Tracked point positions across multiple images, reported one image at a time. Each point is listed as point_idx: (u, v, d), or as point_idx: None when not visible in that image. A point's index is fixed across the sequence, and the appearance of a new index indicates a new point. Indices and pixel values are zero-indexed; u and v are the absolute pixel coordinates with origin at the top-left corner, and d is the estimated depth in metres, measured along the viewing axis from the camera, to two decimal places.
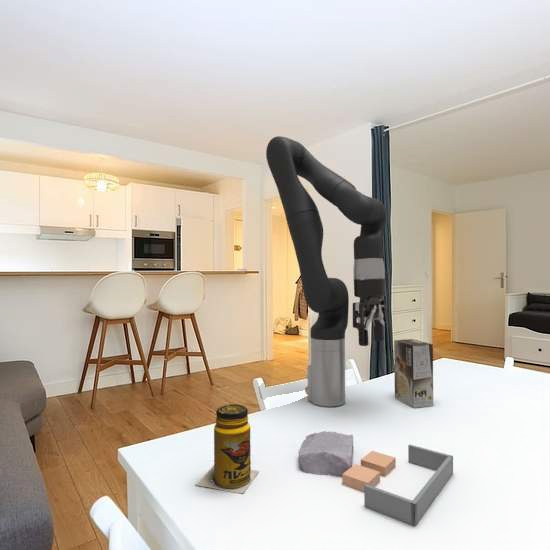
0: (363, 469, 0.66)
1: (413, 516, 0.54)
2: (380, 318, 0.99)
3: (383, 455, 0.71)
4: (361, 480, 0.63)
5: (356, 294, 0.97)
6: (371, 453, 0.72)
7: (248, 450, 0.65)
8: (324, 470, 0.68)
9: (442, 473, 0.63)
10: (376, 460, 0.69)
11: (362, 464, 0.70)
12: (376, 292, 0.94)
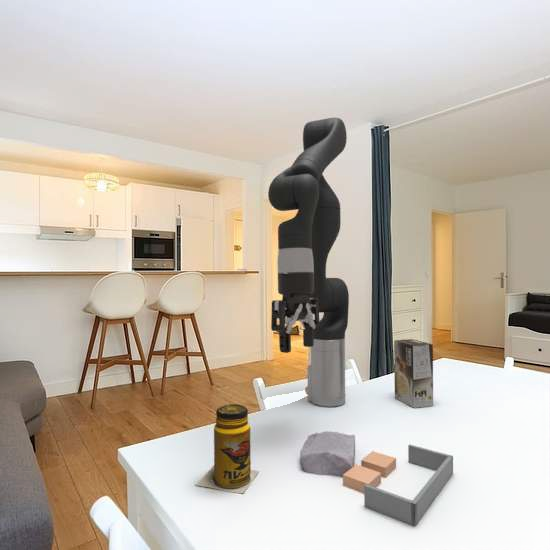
0: (364, 470, 0.66)
1: (413, 516, 0.54)
2: (309, 320, 0.84)
3: (383, 455, 0.71)
4: (362, 481, 0.62)
5: (279, 291, 0.81)
6: (371, 454, 0.72)
7: (248, 450, 0.65)
8: (326, 470, 0.68)
9: (442, 473, 0.63)
10: (376, 461, 0.69)
11: (362, 465, 0.69)
12: (300, 288, 0.79)
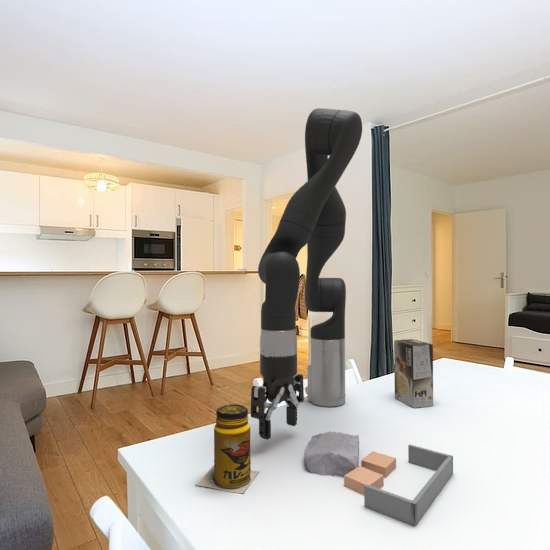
0: (366, 472, 0.65)
1: (413, 516, 0.54)
2: (292, 400, 0.82)
3: (384, 455, 0.71)
4: (362, 482, 0.62)
5: (261, 372, 0.79)
6: (371, 453, 0.72)
7: (248, 450, 0.65)
8: (330, 471, 0.68)
9: (442, 473, 0.63)
10: (376, 461, 0.69)
11: (362, 465, 0.69)
12: (282, 373, 0.76)
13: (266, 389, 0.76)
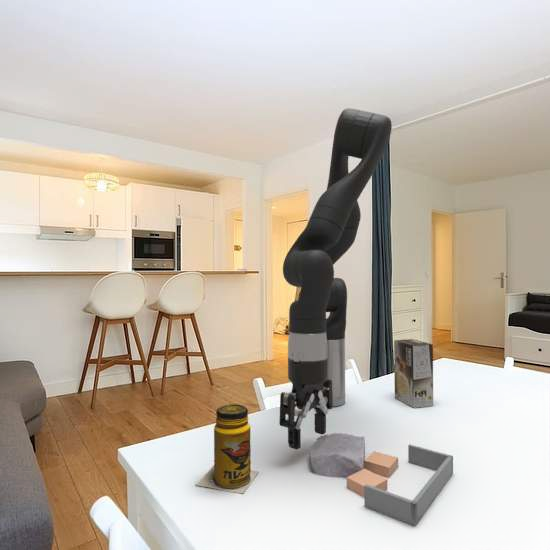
0: (370, 475, 0.64)
1: (413, 516, 0.54)
2: (321, 407, 0.77)
3: (386, 455, 0.71)
4: (364, 485, 0.61)
5: (289, 378, 0.74)
6: (373, 454, 0.72)
7: (248, 450, 0.65)
8: (336, 472, 0.67)
9: (442, 473, 0.63)
10: (379, 461, 0.69)
11: (365, 465, 0.69)
12: (312, 379, 0.72)
13: (296, 396, 0.72)
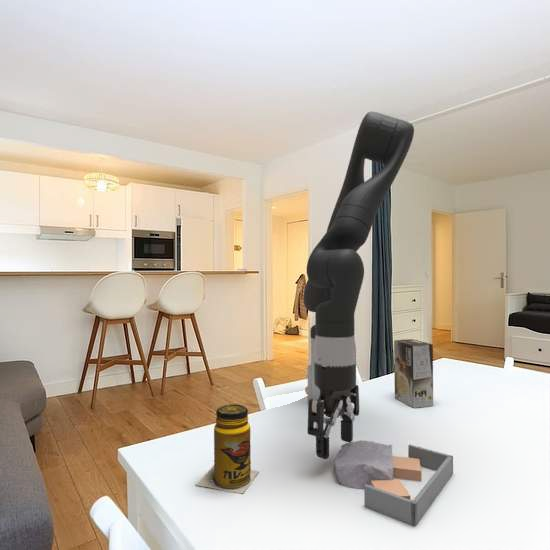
0: (397, 486, 0.60)
1: (413, 516, 0.54)
2: (349, 413, 0.73)
3: (407, 458, 0.70)
4: None
5: (316, 383, 0.71)
6: (395, 458, 0.70)
7: (248, 450, 0.65)
8: (363, 483, 0.63)
9: (442, 473, 0.63)
10: (407, 465, 0.67)
11: (394, 472, 0.67)
12: (342, 385, 0.68)
13: (324, 403, 0.68)
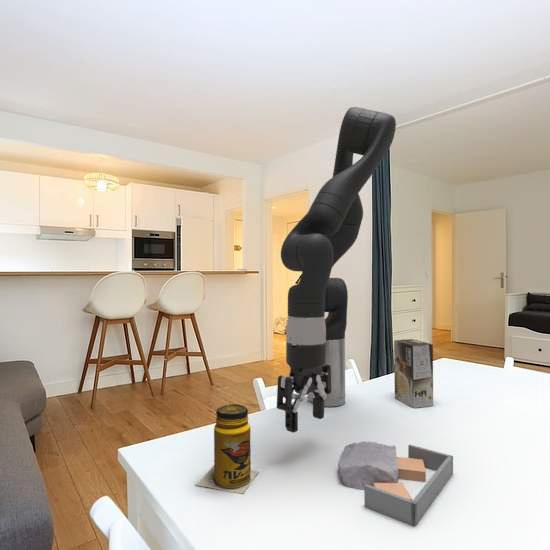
0: (399, 489, 0.60)
1: (413, 516, 0.54)
2: (319, 391, 0.77)
3: (410, 459, 0.70)
4: None
5: (287, 362, 0.74)
6: (399, 459, 0.70)
7: (248, 450, 0.65)
8: None
9: (442, 473, 0.63)
10: (411, 466, 0.67)
11: (399, 473, 0.66)
12: (310, 363, 0.72)
13: (293, 379, 0.72)
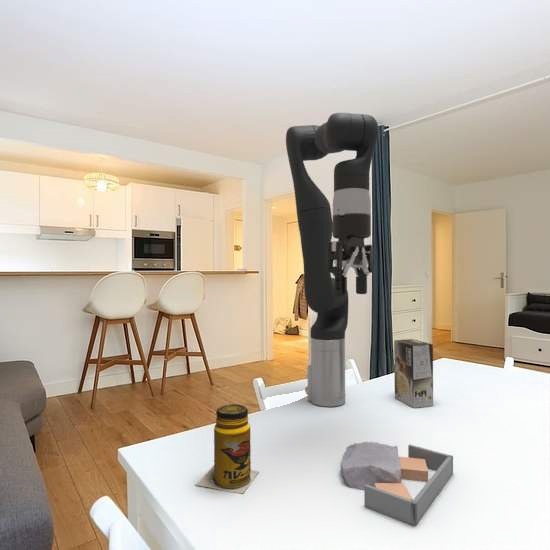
0: (400, 489, 0.60)
1: (413, 516, 0.54)
2: (364, 265, 0.81)
3: (413, 459, 0.70)
4: None
5: (334, 233, 0.79)
6: (401, 459, 0.70)
7: (248, 450, 0.65)
8: (371, 485, 0.63)
9: (442, 473, 0.63)
10: (413, 466, 0.67)
11: (401, 473, 0.66)
12: (358, 230, 0.76)
13: (342, 246, 0.76)
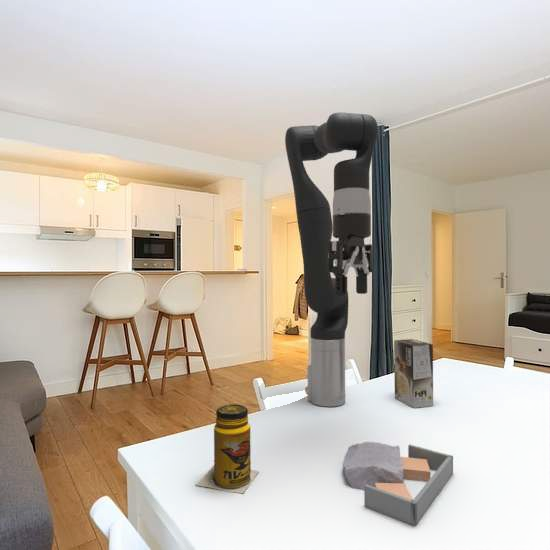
0: (401, 489, 0.60)
1: (413, 516, 0.54)
2: (364, 265, 0.81)
3: (414, 459, 0.70)
4: None
5: (335, 233, 0.79)
6: (403, 459, 0.69)
7: (248, 450, 0.65)
8: (374, 486, 0.63)
9: (442, 473, 0.63)
10: (415, 466, 0.67)
11: None
12: (358, 229, 0.76)
13: (343, 245, 0.76)
